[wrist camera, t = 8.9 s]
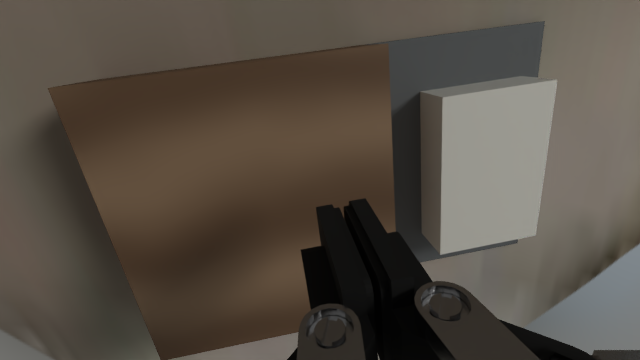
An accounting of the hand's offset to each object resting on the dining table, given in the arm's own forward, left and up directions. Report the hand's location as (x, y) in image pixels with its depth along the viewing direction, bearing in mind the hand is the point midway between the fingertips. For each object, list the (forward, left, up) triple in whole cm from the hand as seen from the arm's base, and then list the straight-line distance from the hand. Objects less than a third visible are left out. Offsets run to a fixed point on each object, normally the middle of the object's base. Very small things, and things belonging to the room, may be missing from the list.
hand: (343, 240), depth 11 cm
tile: (+1, +9, -6) cm, 11 cm away
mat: (+1, +8, -9) cm, 12 cm away
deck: (+1, -3, -9) cm, 9 cm away
